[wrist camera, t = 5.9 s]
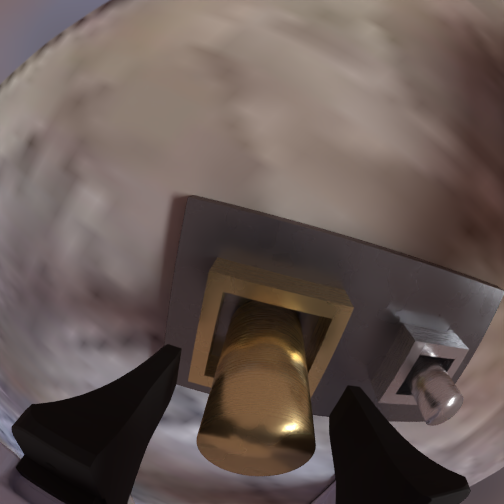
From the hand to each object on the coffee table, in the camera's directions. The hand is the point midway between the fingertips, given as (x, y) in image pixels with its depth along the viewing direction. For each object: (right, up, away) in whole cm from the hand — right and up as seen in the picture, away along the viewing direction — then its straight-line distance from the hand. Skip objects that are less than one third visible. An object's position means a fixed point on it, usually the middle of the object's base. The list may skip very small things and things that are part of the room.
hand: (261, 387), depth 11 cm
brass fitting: (0, +1, +5) cm, 5 cm away
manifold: (+5, 0, +5) cm, 8 cm away
